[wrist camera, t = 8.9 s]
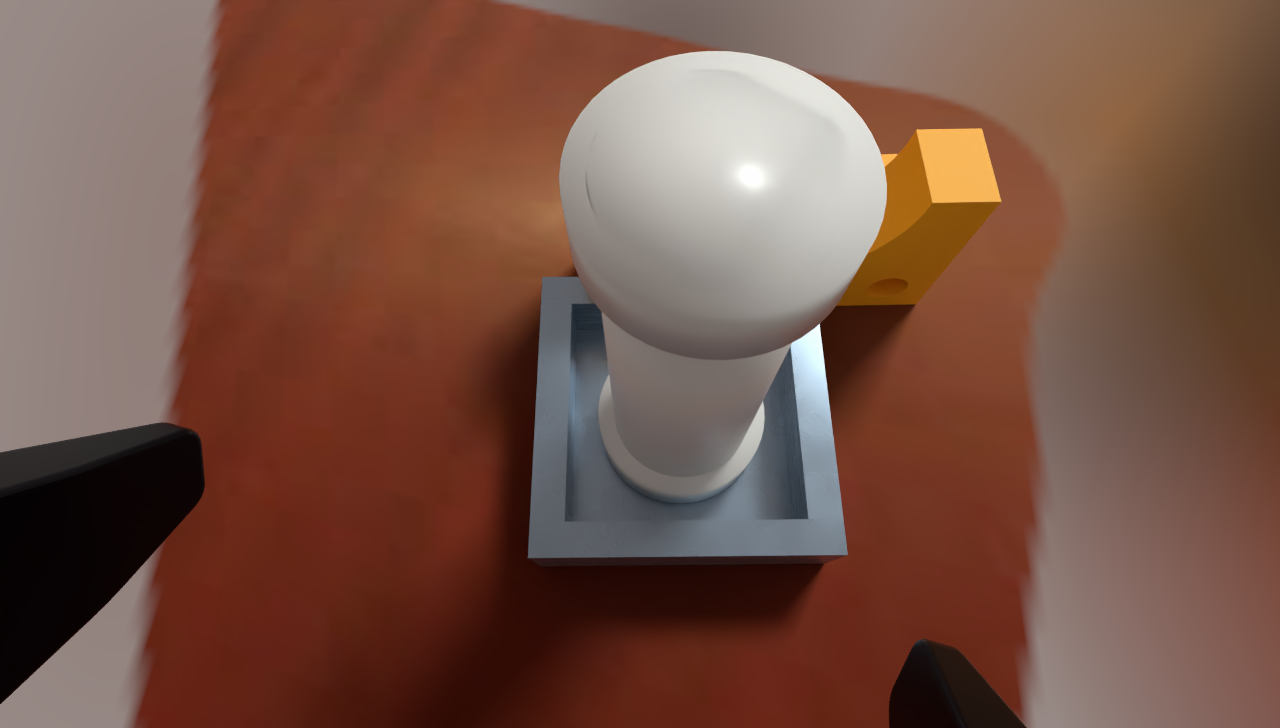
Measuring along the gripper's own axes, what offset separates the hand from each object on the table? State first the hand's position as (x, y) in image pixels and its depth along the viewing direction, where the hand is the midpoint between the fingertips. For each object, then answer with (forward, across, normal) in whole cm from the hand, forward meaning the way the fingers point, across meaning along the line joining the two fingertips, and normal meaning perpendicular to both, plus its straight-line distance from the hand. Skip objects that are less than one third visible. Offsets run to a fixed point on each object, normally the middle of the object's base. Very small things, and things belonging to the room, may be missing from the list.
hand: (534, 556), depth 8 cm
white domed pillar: (+14, -1, +5) cm, 14 cm away
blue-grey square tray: (+14, -1, +5) cm, 15 cm away
